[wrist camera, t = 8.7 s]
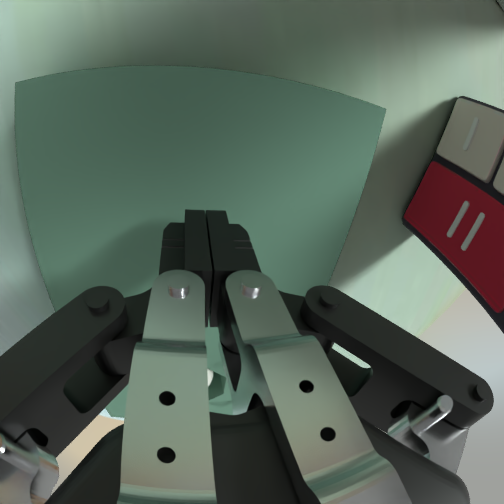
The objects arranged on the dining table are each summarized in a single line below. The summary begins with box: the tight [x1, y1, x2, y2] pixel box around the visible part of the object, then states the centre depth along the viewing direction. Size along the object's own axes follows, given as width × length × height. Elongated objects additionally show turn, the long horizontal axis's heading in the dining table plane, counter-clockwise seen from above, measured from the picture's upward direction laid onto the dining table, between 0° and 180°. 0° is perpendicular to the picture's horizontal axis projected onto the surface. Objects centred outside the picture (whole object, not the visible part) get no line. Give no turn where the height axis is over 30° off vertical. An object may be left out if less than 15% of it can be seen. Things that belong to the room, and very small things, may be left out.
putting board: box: [15, 65, 386, 418], centre depth 17 cm, size 16×28×3 cm, turn 172°
